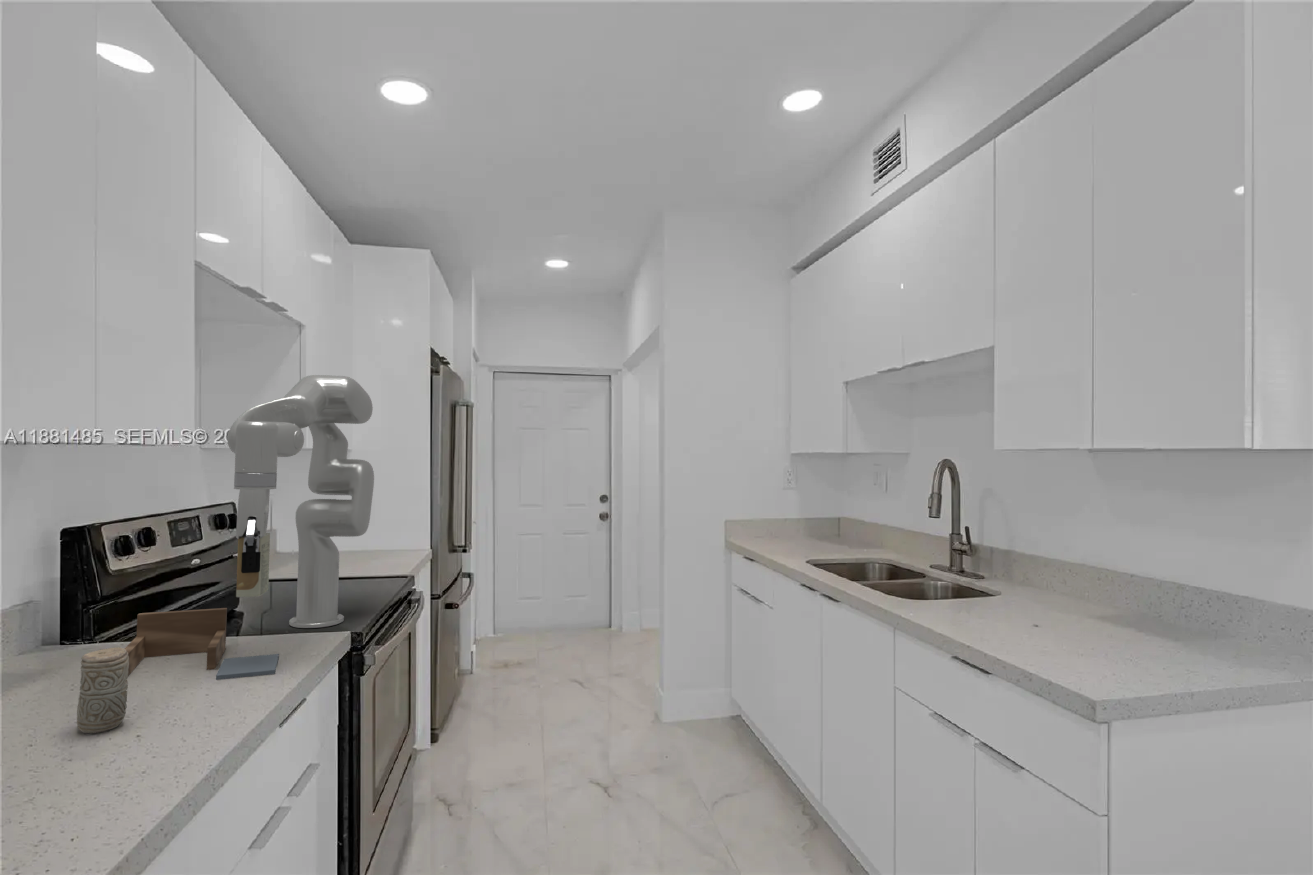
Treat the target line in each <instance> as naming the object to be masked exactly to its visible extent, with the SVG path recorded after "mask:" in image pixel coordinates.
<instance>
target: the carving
mask: <svg viewBox="0 0 1313 875" xmlns="http://www.w3.org/2000/svg"><path fill="white" fill-rule="evenodd" d="M80 664H81V666H80V672H81V673H80V676H81V677H80V681H79V695H78V704H77V709H76V724H77V729H78V730H79V731H80V732H82V733H84V734H100V733H103V732H107V731H110V730H114V729H116V728H117V727H118V726H120V725H121V724H122V721H123V720H124V719H125V718H126V714H127V708H128V706H127V702H128V691H127V690H128V688H129V687H128V686H129V682H128V678H129V676H128V668H129V656H128V652H127V651H126V649H125V648H123V647H108V648H103V649H99V650H94V651H89V652H87V653H84V655H82V657H81V661H80Z"/></svg>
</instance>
